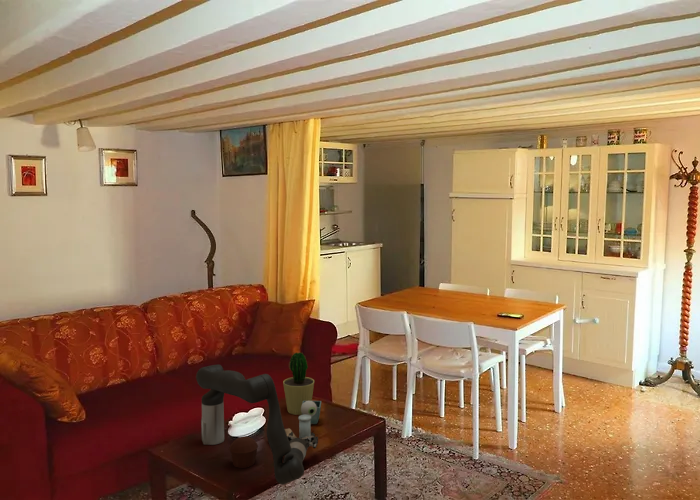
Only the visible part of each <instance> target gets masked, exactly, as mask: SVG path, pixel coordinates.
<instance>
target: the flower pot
mask: <svg viewBox="0 0 700 500" xmlns="http://www.w3.org/2000/svg"><path fill="white" fill-rule="evenodd" d="M312 401H313V402H314V403H315V404H316V406H317V411H316V414H315V415H314V416H312V417H311V425H317V424H318V422H319V419H320V415H321V409H322V407H321V406H322V400H312ZM304 402H306V401H303V403H304ZM303 403H302V404H303ZM302 415H303V414H302Z"/></svg>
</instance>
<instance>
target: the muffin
mask: <svg viewBox="0 0 700 500" xmlns="http://www.w3.org/2000/svg"><path fill="white" fill-rule="evenodd" d="M258 447H259V445H258V443H257V441H256V440H255V439H253V438H252V437H251V436H250V437H249V436H240V437H238V438H236V439H234V440H233V442H231V443H230V445H229V447H228V450H229V452H230V455H231V460H232V464H233V467H236V468H237V469H242V468H243V469H247V468H249V467H252V466H253V465H255V464H256V459H257V452H258Z"/></svg>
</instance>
